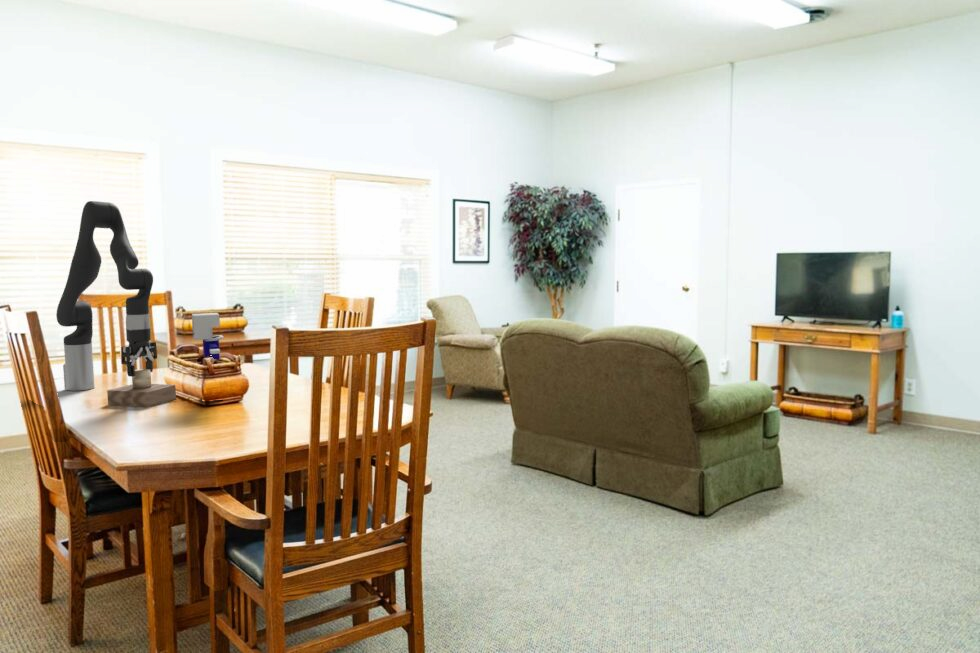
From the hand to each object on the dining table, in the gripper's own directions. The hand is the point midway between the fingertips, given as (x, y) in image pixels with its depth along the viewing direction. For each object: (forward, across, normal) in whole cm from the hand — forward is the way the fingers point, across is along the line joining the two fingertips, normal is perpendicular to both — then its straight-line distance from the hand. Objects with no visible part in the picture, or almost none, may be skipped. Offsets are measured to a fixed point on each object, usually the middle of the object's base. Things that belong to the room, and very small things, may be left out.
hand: (140, 374), depth 255 cm
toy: (+10, -9, +21) cm, 25 cm away
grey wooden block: (+10, 0, 0) cm, 10 cm away
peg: (+9, 0, 0) cm, 9 cm away
